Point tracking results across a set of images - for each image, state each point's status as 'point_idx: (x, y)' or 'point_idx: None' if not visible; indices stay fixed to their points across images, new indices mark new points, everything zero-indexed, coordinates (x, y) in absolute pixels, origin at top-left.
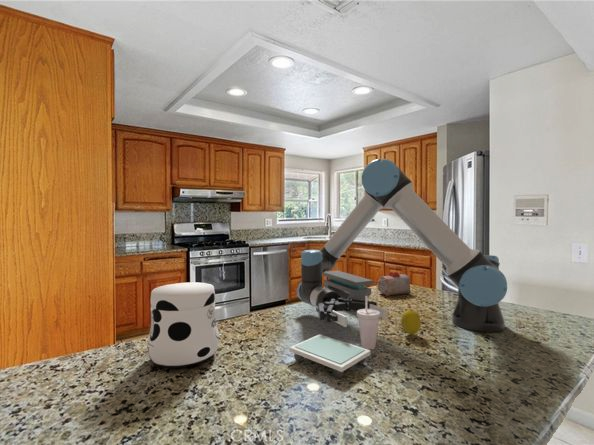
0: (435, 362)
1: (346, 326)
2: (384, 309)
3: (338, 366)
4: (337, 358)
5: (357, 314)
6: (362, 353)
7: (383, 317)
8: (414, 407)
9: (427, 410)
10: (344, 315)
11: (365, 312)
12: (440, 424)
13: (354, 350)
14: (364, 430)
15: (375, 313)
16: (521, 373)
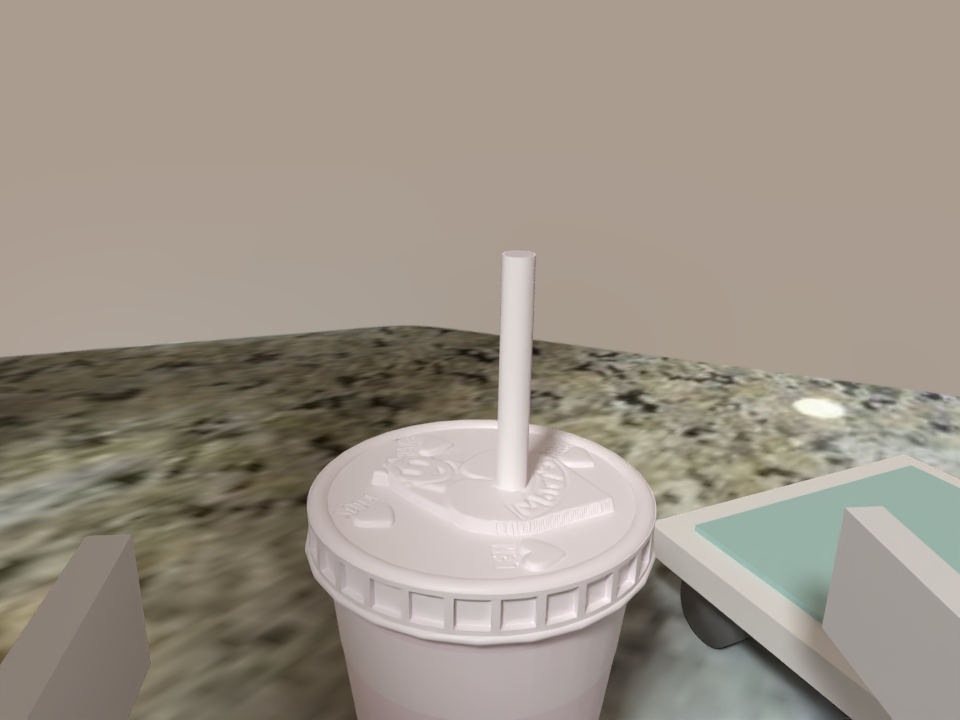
0: (220, 527)
1: (830, 624)
2: (97, 548)
3: (924, 465)
4: (933, 498)
5: (644, 553)
6: (728, 510)
7: (142, 654)
8: (618, 403)
9: (585, 391)
10: (880, 540)
11: (550, 465)
12: (591, 367)
13: (782, 536)
14: (829, 391)
15: (434, 438)
16: (17, 406)
